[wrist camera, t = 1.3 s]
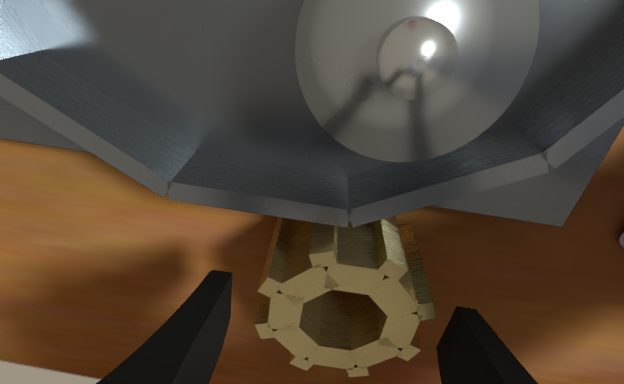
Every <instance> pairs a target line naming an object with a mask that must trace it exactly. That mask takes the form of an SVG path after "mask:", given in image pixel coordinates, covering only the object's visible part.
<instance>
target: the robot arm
mask: <svg viewBox="0 0 624 384" xmlns="http://www.w3.org/2000/svg"><path fill="white" fill-rule="evenodd" d="M619 241H620V244H621V245H622V246H623V247H624V232H623V233H622V235H621V237H620V239H619ZM231 290H232V273H230V272H223V271H217V270H212V271H211V272H209V273H208V275H207V276H206V277H205V279H204V280H203V281H202V282H201V284H200V285H199V286H198V287H197V288H196V290H195V291H194V292H193V293H192V294H191V295H190V296H189V298H188V299H187V300H186V301H185V302H184V303H183V304H182V305H181V306H180V308H179V309H178V310H177V311H176V312H175V313H174V314H173V315H172V316H171V317H170V318H169V319H168V320H167V321H166V322H165V323H164V324H163V325H162V326H161V327H160V328H159V329H158V330H157V331H156V332H155V333H154V334H153V335H152V336H151V337H150V338H149V339H148V340H147V341H146V342H145V343H144V344H143V345H142V346H140V347H139V348H138V349H137V350H136V351H135V352H134V353H133V354H132V355H130V356H129V357H128V358H127V359H126V360H125V361H123V362H122V363H121V364H120V365H119V366H118V367H116V368H115V369H114V370H113V371H112V372H110V373H109V374H108V375H107V376H105V377H104V378H103V379H102V380H100V381H99V382H98V383H96V384H209V381H210V379H211V376H212V374H213V371H214V368H215V366H216V363H217V361H218V358H219V355H220V353H221V350H222V347H223V343H224V339H225V336H226V332H227V328H228V324H229V321H230V315H231ZM436 348H437V356H438V363H439V370H440V376H441V382H442V384H538V383H537V382H536V381H535V380H534V379H533V378H532V376H531V375H530V374H529V373H528V372H527V371H526V369H525V368H524V367H523V366H522V365H521V364H520V362H519V361H518V360H517V359H516V358H515V356H514V355H513V354H512V353H511V352H510V350H509V349H508V348H507V347H506V345H505V344H504V343H503V342H502V341H501V339H500V338H499V337H498V336H497V334H496V333H495V332H494V331H493V330H492V328H491V327H490V326H489V325H488V323H487V322H486V321H485V320H484V319H483V317H482V316H481V315H480V314H479V313H478V311H477V310H476V309H471V308H464V307H456V309H455V311H454V313H453V315H452V317H451V319H450V321H449V323H448V325H447V327H446V329H445V331H444V333H443V335H442V337H441V339H440V341H439V343H438V345H437V347H436Z"/></svg>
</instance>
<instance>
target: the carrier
mask: <svg viewBox="0 0 624 384" xmlns="http://www.w3.org/2000/svg"><path fill="white" fill-rule="evenodd" d="M623 126H624V0H0V138H2V139H9V140H15V141H21V142H28V143H34V144H40V145H47V146H53V147H59V148H66V149H72V150H78V151H85V152H91V153H92V154H94V155H95V156H97V157H99V158H100V159H102V160H103V161H105V162H107V163H108V164H110V165H111V166H113V167H115V168H116V169H118V170H119V171H121V172H123V173H124V174H126V175H128V176H129V177H131V178H132V179H134V180H136V181H137V182H139V183H140V184H142V185H144V186H145V187H147V188H148V189H150V190H152V191H153V192H155V193H156V194H158V195H160V196H161V197H164V196H165V195H166V194H167V192H168V200H174V201H180V202H187V203H193V204H199V205H206V206H212V207H219V208H225V209H231V210H238V211H244V212H251V213H257V214H263V215H270V216H276V217H283V218H289V219H295V220H302V221H308V222H315V223H321V224H327V225H334V226H340V227H347V228H348V223H349V219H350V222H351V224H352V226H353V227H356V226H359V225H363V224H366V223H370V222H374V221H377V220H381V219H384V218H388V217H391V216H395V215H398V214H402V213H406V212H409V211H413V210H416V209H420V208H423V207H427V206H434V207H440V208H446V209H453V210H459V211H465V212H472V213H478V214H485V215H491V216H497V217H504V218H510V219H516V220H523V221H529V222H535V223H542V224H548V225H554V226H561V227H562V226H563V224H564V223H565V221H566V219H567V218H568V216H569V214H570V213H571V211H572V210H573V208H574V206H575V205H576V203H577V201H578V200H579V198H580V196H581V195H582V193H583V192H584V190H585V188H586V187H587V185H588V183H589V182H590V180H591V178H592V177H593V175H594V173H595V172H596V170H597V169H598V167H599V165H600V164H601V162H602V160H603V159H604V157H605V155H606V154H607V152H608V151H609V149H610V147H611V146H612V144H613V142H614V141H615V139H616V137H617V136H618V134H619V133H620V131H621V129H622V128H623Z"/></svg>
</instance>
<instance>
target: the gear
mask: <svg viewBox="0 0 624 384" xmlns="http://www.w3.org/2000/svg"><path fill="white" fill-rule="evenodd" d="M257 292H259V293H262V296H261V300H260V304H259V308H258V312H257V316H256V320H255V324H254V325H255V327H256V329H257V331H258V334H259V336H260V338H261V339H266V338H275V339H276V340H278V341H279V342H280V343H281V344H282V345H283V346H284V347H285V348H287V349H288V350H289V351H290V352H291V355H290V362H289V364H292V365H294V366H296V367H299V368H301V369H303V370H306V371H307V370H308V369H309V368H310V367H311V366H312V365H313V364H315V365H321V366H328V367H334V368H341V369H347V372H348V375H349V377H358V376H369V368H368V367H369V366H372V365H374V364H377V363H380V362H382V361H385V360H388V359H390V358H393V357H395V356H397V357H399V358H402V359H404V360H406V361H409V360H410V359H411V358H412V357H413V356H415V355H416V354H417V353H418V352H420V351H421V347H420V342H419V338H418V333H417V327H418V325H419V323H420V321H422V320H431V319H436V317H435V309H434V302H433V298H432V295H431V292H430V288H429V285H428V281H427V278H426V274H425V271H424V268H423V264H422V261H421V257H420V254H419V250H418V247H417V244H416V240H415V237H414V233H413V230H412V226H411V224H406V225H400V226H399V225H398V224H397V221H396V217H395V216H391V217H388V218H384V219H381V220H377V221H374V222H370V223H366V224H363V225H359V226H356V227H353V226H352V224H351V222H350V219H349V223H348V228H347V227H340V226H334V225H327V224H321V223H315V222H308V221H302V220H295V219H289V218H283V217H277V220H276V223H275V227H274V231H273V235H272V238H271V242H270V246H269V250H268V253H267V257H266V261H265V265H264V268H263V272H262V276H261V280H260V283H259V287H258V291H257Z"/></svg>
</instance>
